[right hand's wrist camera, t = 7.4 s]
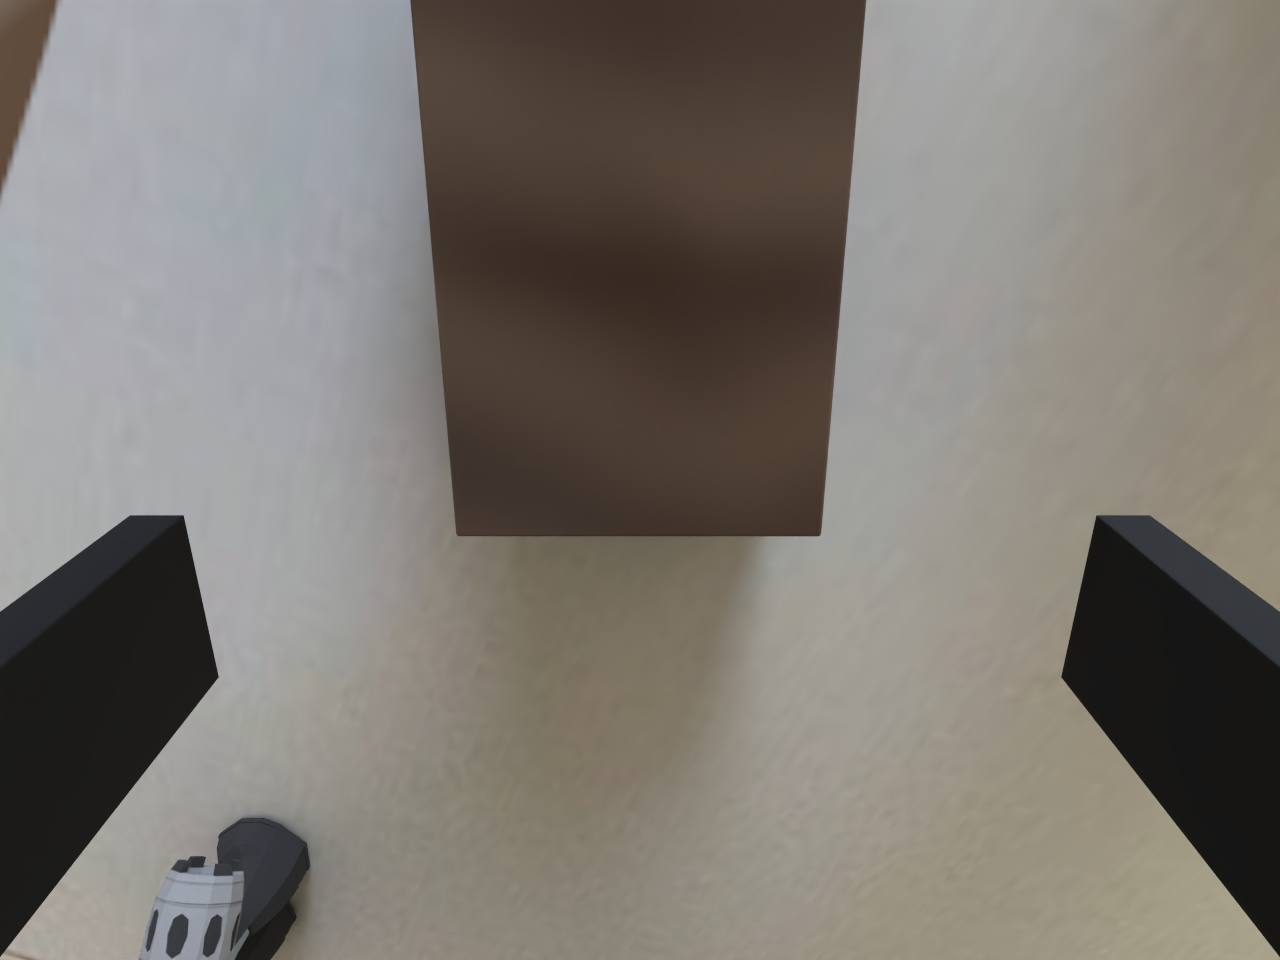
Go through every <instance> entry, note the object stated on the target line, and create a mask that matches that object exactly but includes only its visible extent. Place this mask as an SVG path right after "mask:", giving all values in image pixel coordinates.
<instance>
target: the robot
mask: <svg viewBox="0 0 1280 960" xmlns="http://www.w3.org/2000/svg"><path fill="white" fill-rule="evenodd" d="M217 854H218V864H215V866H203V865H204V862H205V858H206V857H203V856H192V857H190V858H189V859H188V861H187V860H178V861H177V862H176V864H175V865H174V866H173V868H172V869H171V870H170V872H169V874H168V875H167V878H166V880H165V881H164V883H163V885H162V887H161V888H160V890H159V892H158V894H157V896H156V899H155V902H154V906H153V909H152V912H151V915H150V918H149V921H148V924H147V928H146V931H145V935H144V939H143V943H142V947H141V951H140V955H139V959H140V960H271V958H272V957H273V956H274V954H275V953H276V952H277V950H278V949H279V948H280V946H281V945H282V943H283V941H284V940H285V936H286V935H287V933H288V931H289V929H290V927H291V925H292V924H293V922H294V921H295V919H296V917H297V916H296V914H295V913H294V911H293V909H292V907H291V906H290V904H289V902H288V901H289V899H290V898H291V897H292V896H293V894H294V893H295V891H296V890H297V888H298V885H299V883H300V882H301V880H302V879H303V877H304V875H305V873H306V871H307V870H308V869H309V867H310V864H309V857H308V850H307V843H306V842H304V841H303V840H301V839H300V838H299V837H297V836H296V835H294V834H293V833H292V832H290V831H289V830H288V829H286V828H285V827H283V826H282V825H281V824H279V823H276V822H273V821H270V820H267V819H264V818H250V819H240V820H239V821H237V822H236V823H235V824H233V825H232V826H230V827H229V828H227V829H226V830H224V831H223V832H221V833H220V835H219V841H218V846H217Z"/></svg>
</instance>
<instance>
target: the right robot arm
mask: <svg viewBox="0 0 1280 960" xmlns="http://www.w3.org/2000/svg"><path fill="white" fill-rule="evenodd" d="M218 677H219V676H218V672H217V667H216V663H215V658H214V653H213V649H212V644H211V640H210V635H209V630H208V626H207V621H206V617H205V612H204V607H203V603H202V598H201V594H200V589H199V584H198V580H197V575H196V571H195V566H194V561H193V557H192V552H191V548H190V543H189V538H188V534H187V529H186V525H185V520H184V516H129V517H128V518H126V519H125V520H123V521H122V522H121V523H119V524H118V525H117V526H115V527H114V528H113V529H111V530H110V531H109V532H107V533H106V534H105V535H103V536H102V537H101V538H99V539H98V540H97V541H95V542H94V543H92V544H91V545H90V546H88V547H87V548H86V549H84V550H83V551H82V552H80V553H79V554H78V555H76V556H75V557H74V558H72V559H71V560H70V561H68V562H67V563H66V564H64V565H63V566H61V567H60V568H59V569H57V570H56V571H55V572H53V573H52V574H51V575H49V576H48V577H47V578H45V579H44V580H43V581H41V582H40V583H39V584H37V585H36V586H34V587H33V588H32V589H30V590H29V591H28V592H26V593H25V594H24V595H22V596H21V597H20V598H18V599H17V600H16V601H14V602H13V603H12V604H10V605H9V606H8V607H6V608H5V609H3V610H2V611H1V612H0V956H1V955H2V954H3V953H4V951H5V950H6V949H7V948H8V946H9V945H10V944H11V942H12V941H13V940H14V939H15V937H16V936H17V935H18V933H19V932H20V931H21V930H22V928H23V927H24V926H25V924H26V923H27V922H28V921H29V919H30V918H31V917H32V915H33V914H34V913H35V912H36V910H37V909H38V908H39V907H40V905H41V904H42V903H43V901H44V900H45V899H46V898H47V896H48V895H49V894H50V892H51V891H52V890H53V889H54V887H55V886H56V885H57V883H58V882H59V881H60V880H61V878H62V877H63V876H64V875H65V873H66V872H67V871H68V869H69V868H70V867H71V866H72V864H73V863H74V862H75V860H76V859H77V858H78V857H79V855H80V854H81V853H82V851H83V850H84V849H85V848H86V846H87V845H88V844H89V842H90V841H91V840H92V839H93V837H94V836H95V835H96V834H97V832H98V831H99V830H100V828H101V827H102V826H103V825H104V823H105V822H106V821H107V819H108V818H109V817H110V816H111V814H112V813H113V812H114V810H115V809H116V808H117V807H118V805H119V804H120V803H121V802H122V800H123V799H124V798H125V796H126V795H127V794H128V793H129V791H130V790H131V789H132V787H133V786H134V785H135V784H136V782H137V781H138V780H139V778H140V777H141V776H142V775H143V773H144V772H145V771H146V769H147V768H148V767H149V766H150V764H151V763H152V762H153V761H154V759H155V758H156V757H157V755H158V754H159V753H160V752H161V750H162V749H163V748H164V746H165V745H166V744H167V743H168V741H169V740H170V739H171V737H172V736H173V735H174V734H175V732H176V731H177V730H178V729H179V727H180V726H181V725H182V723H183V722H184V721H185V720H186V718H187V717H188V716H189V714H190V713H191V712H192V711H193V709H194V708H195V707H196V705H197V704H198V703H199V702H200V700H201V699H202V698H203V697H204V695H205V694H206V693H207V691H208V690H209V689H210V688H211V686H212V685H213V684H214V682H215V681H216V680H217V679H218ZM1061 677H1062V679H1063V680H1064V681H1065V682H1066V684H1067V685H1068V686H1069V688H1070V689H1071V690H1072V691H1073V693H1074V694H1075V695H1076V697H1077V698H1078V699H1079V700H1080V702H1081V703H1082V704H1083V705H1084V707H1085V708H1086V709H1087V711H1088V712H1089V713H1090V714H1091V716H1092V717H1093V718H1094V720H1095V721H1096V722H1097V723H1098V725H1099V726H1100V727H1101V729H1102V730H1103V731H1104V732H1105V734H1106V735H1107V736H1108V737H1109V739H1110V740H1111V741H1112V743H1113V744H1114V745H1115V746H1116V748H1117V749H1118V750H1119V752H1120V753H1121V754H1122V755H1123V757H1124V758H1125V759H1126V761H1127V762H1128V763H1129V764H1130V766H1131V767H1132V768H1133V770H1134V771H1135V772H1136V773H1137V775H1138V776H1139V777H1140V778H1141V780H1142V781H1143V782H1144V784H1145V785H1146V786H1147V787H1148V789H1149V790H1150V791H1151V793H1152V794H1153V795H1154V796H1155V798H1156V799H1157V800H1158V802H1159V803H1160V804H1161V805H1162V807H1163V808H1164V809H1165V810H1166V812H1167V813H1168V814H1169V816H1170V817H1171V818H1172V819H1173V821H1174V822H1175V823H1176V825H1177V826H1178V827H1179V828H1180V830H1181V831H1182V832H1183V834H1184V835H1185V836H1186V837H1187V839H1188V840H1189V841H1190V842H1191V844H1192V845H1193V846H1194V848H1195V849H1196V850H1197V851H1198V853H1199V854H1200V855H1201V857H1202V858H1203V859H1204V860H1205V862H1206V863H1207V864H1208V866H1209V867H1210V868H1211V869H1212V871H1213V872H1214V873H1215V875H1216V876H1217V877H1218V878H1219V880H1220V881H1221V882H1222V883H1223V885H1224V886H1225V887H1226V889H1227V890H1228V891H1229V892H1230V894H1231V895H1232V896H1233V898H1234V899H1235V900H1236V901H1237V903H1238V904H1239V905H1240V907H1241V908H1242V909H1243V910H1244V912H1245V913H1246V914H1247V915H1248V917H1249V918H1250V919H1251V921H1252V922H1253V923H1254V924H1255V926H1256V927H1257V928H1258V930H1259V931H1260V932H1261V933H1262V935H1263V936H1264V937H1265V939H1266V940H1267V941H1268V942H1269V944H1270V945H1271V946H1272V948H1273V949H1274V950H1275V951H1276V953H1277V954H1278V955H1279V956H1280V612H1279V611H1278V610H1277V609H1275V608H1274V607H1272V606H1271V605H1270V604H1268V603H1267V602H1266V601H1264V600H1263V599H1262V598H1260V597H1259V596H1258V595H1256V594H1255V593H1254V592H1252V591H1251V590H1250V589H1248V588H1247V587H1246V586H1244V585H1243V584H1241V583H1240V582H1239V581H1237V580H1236V579H1235V578H1233V577H1232V576H1231V575H1229V574H1228V573H1227V572H1225V571H1224V570H1223V569H1221V568H1220V567H1219V566H1217V565H1216V564H1214V563H1213V562H1212V561H1210V560H1209V559H1208V558H1206V557H1205V556H1204V555H1202V554H1201V553H1200V552H1198V551H1197V550H1196V549H1194V548H1193V547H1192V546H1190V545H1189V544H1188V543H1186V542H1185V541H1183V540H1182V539H1181V538H1179V537H1178V536H1177V535H1175V534H1174V533H1173V532H1171V531H1170V530H1169V529H1167V528H1166V527H1165V526H1163V525H1162V524H1161V523H1159V522H1158V521H1157V520H1155V519H1154V518H1152V517H1151V516H1096V520H1095V525H1094V529H1093V534H1092V538H1091V543H1090V548H1089V552H1088V557H1087V561H1086V566H1085V571H1084V575H1083V580H1082V584H1081V589H1080V594H1079V598H1078V603H1077V607H1076V612H1075V617H1074V621H1073V626H1072V630H1071V635H1070V640H1069V644H1068V649H1067V653H1066V658H1065V663H1064V667H1063V672H1062V676H1061Z"/></svg>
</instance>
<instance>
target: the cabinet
mask: <svg viewBox="0 0 1280 960" xmlns="http://www.w3.org/2000/svg"><path fill="white" fill-rule="evenodd" d="M410 1H411V13H412V25H413V36H414V48H415V60H416V71H417V83H418V94H419V106H420V118H421V129H422V141H423V153H424V164H425V176H426V187H427V199H428V211H429V222H430V234H431V246H432V257H433V269H434V280H435V292H436V304H437V315H438V327H439V339H440V350H441V362H442V373H443V385H444V397H445V408H446V420H447V432H448V443H449V455H450V467H451V478H452V490H453V501H454V513H455V525H456V534H457V536H820V534H821V528H822V516H823V504H824V492H825V480H826V469H827V457H828V445H829V433H830V421H831V410H832V398H833V386H834V374H835V362H836V351H837V339H838V327H839V315H840V303H841V292H842V280H843V268H844V256H845V244H846V233H847V221H848V209H849V197H850V185H851V174H852V162H853V150H854V138H855V126H856V115H857V103H858V91H859V79H860V67H861V56H862V44H863V32H864V20H865V8H866V0H410Z"/></svg>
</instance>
